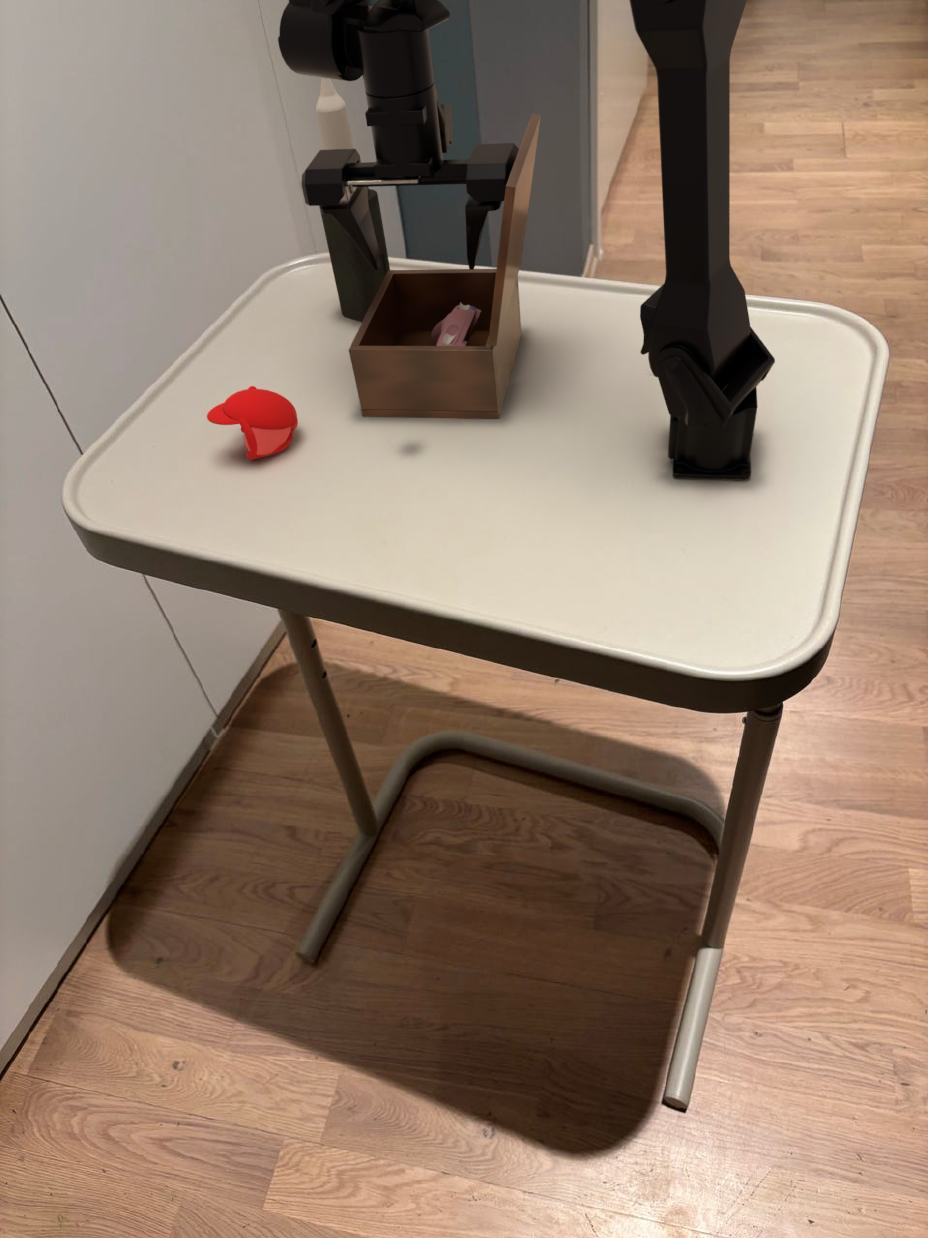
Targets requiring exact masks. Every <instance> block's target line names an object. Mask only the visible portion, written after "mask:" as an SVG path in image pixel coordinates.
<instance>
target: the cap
mask: <svg viewBox="0 0 928 1238" xmlns="http://www.w3.org/2000/svg"><path fill="white" fill-rule="evenodd" d="M206 419H207V421H209V422H210V423H212V424H215V425H219V426H234V425H240V432H242V433H243V434H244V437H245V438H244V441H245V446H246V449H247V451H246V458H247V459H249V460H257V459H261V458H264V457H267V456H271V455H275V454H278V453H280V452H282V451H284V450H285V449H286V448H287V447H288V446H289V445H290V443H291V442H292V440H293V437H294V436H293V435H294V431H295V430H296V429H297V427H298V425H299V421H298V413H297V410H296V408H295V405H293V403H292V402H291V401H290V400H289V399H287V398H286V397H285V396H284V395H281V394H280V393H278V392H275V391H273V390H269V389H262V388H257V387H256V386H254V385H251V386H249V387H248V388H247V389H242V390H239V391H236V392H234V393H233V394H231V395H230V396H228V397H227V398H226V400H225V401H224V402H222V403H219V404H218V405H215V406H214V407H212V408H211V409H210V410H209V411H208V412H207V414H206Z"/></svg>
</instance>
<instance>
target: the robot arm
mask: <svg viewBox="0 0 928 1238" xmlns="http://www.w3.org/2000/svg"><path fill="white" fill-rule="evenodd" d="M747 2H748V0H629V5H630V10H631V15H632V20H633V27H634V30H635V32H636V34H637V36H638V38H639V40H640V42H641V43H642V46H643V48H644V50H645V51H646V53H647V55H648V58H649V59H650V61H651V63H652V64H653V66H654V69H655V74H656V84H657V85H656V86H657V87H656V88H657V106H658V129H659V150H660V170H661V171H660V173H661V174H660V175H661V190H662V191H661V192H662V193H661V194H662V197H661V198H662V215H663V238H664V258H665V259H664V260H665V261H664V262H665V279H664V283H662V285H661V286H659V288H658V289H656V290H655V291H654V293H652V294H651V295H650V296H648V297H647V299H646V300H645V301H644V302H643V303H641V304H640V307H639V309H640V310H639V313H640V314H639V318H640V324H641V328H642V333H643V343H642V346H641V349H640V354H641V355H643V356H644V355H646V354H648V355H647V356H648V357H647V358H648V359H647V361H648V365H649V368H650V371H651V373H652V375H653V376H654V377H655V378H657V379H658V382H659V385H660V388H661V392H662V395H663V398H664V402H665V405H666V410H667V412H668V414H669V415H670V417H669V430H668V431H669V432H668V446H667V458H668V459H669V460H672V473H671V474H672V476H673V477H674V478H676V479H699V480H700V479H702V480H704V479H705V480H734V481H735V480H737V481H738V480H739V481H746V480H748V481H749V480H750V479H751V478H752V456H751V455H752V454H751V453H752V447H753V440H754V434H755V426H756V419H757V414H758V413H757V411H758V393H757V392H758V391H757V389H758V388H757V387H758V386H759V384H760V383H761V382H763V381H764V380H765V379H766V378H767V377H768V374H769V372H770V371H771V369H772V368H773V366H774V364H775V363H776V359H775V357H774V356H773V354H772V353H771V352H770V350H769V349H768V348H767V346H766V345H765V344H764V342H763V341H762V339H761V338H760V336H758V334H757V333H756V332H755V330H754V328H752V326H751V321H750V316H749V308H748V303H747V297H746V290H745V287H744V286H743V285H742V283H741V281H740V279H739V277H738V276H737V274H736V272H735V271H734V269H733V267H732V265H731V259H730V257H731V256H730V235H731V234H730V228H731V227H730V216H731V215H730V208H731V207H730V205H731V204H730V201H731V199H730V193H731V192H730V188H731V187H730V186H731V185H730V183H731V182H730V178H731V177H730V176H731V175H730V173H731V172H730V167H731V166H730V162H731V159H730V157H731V156H730V153H731V151H730V148H731V147H730V146H731V145H730V144H731V143H730V141H731V140H730V139H731V138H730V135H731V134H730V133H731V131H730V130H731V129H730V127H731V123H730V120H731V119H730V118H731V117H730V114H731V113H730V112H731V111H730V107H731V106H730V100H731V99H730V98H731V97H730V95H731V94H730V93H731V91H730V90H731V89H730V87H731V86H730V85H731V84H730V83H731V80H730V79H731V78H730V77H731V75H730V73H731V72H730V71H731V68H730V67H731V66H730V64H731V63H730V62H731V55H732V54H731V53H732V48H733V45H734V42H735V39H736V36H737V33H738V30H739V26H740V23H741V21H742V17H743V15H744V10H745V9H746V4H747ZM450 17H451V12H450V10H449V9H448V8H447V7H446V6H445V4H443V2H442V1H440V0H377V1H376V2H375V3H374V4H373V5H370V4H369V0H288V3H287V4H286V6H285V8H284V9H283V12H282V14H281V18H280V22H279V35H278V37H277V43H278V48H279V51H280V54H281V57H282V59H283V61H284V63H285V65H286V66H287V67H288V68H289V69H290V70H291V71H293V72H294V73H295V74H297V75H302V76H309V77H315V78H321V77H322V78H329V79H330V80H338V81H345V82H355V81H357V80H359V79H360V78H362V80H363V85H364V91H365V97H366V103H367V109H366V111H365V113H364V115H365V119H366V120H365V121H366V126H367V127H370V131H371V135H372V141H373V148H374V153H375V160H376V161H370V162H369V161H367V162H366V161H365V162H362V160H361V155H360V153H359V151H358V150H357V149H356V148H353V149H332V150H324V149H319V150H318V152H317V153H316V154H315V156H314V158H312V160H311V162H310V163H309V164H308V166H306V168H305V170H304V172H302V174H301V181H300V182H301V184H300V185H301V189H302V194H303V199H304V202H305V204H306V205H307V206H309V207H317V206H318V207H319V206H321V211H322V213H323V214H329V215H332V216H333V217H334V219H335V220H336V221H337V222H338V223H339V224H340V225H341V227H342V228H343V229H344V230H345V231H346V232H347V233H348V235H349V236H350V237H351V238H352V240H353V241H354V242H355V244H356V245H357V247H358V248H359V249H360V251H361V252H362V254H363V255H364V257H365V258H366V259H367V261H368V262H369V264H370V265H371V267H372V268H373V270H375V271H378V270H379V268H380V256H379V249H378V244H377V240H376V236H375V232H374V228H373V223H372V219H371V215H370V211H369V206H368V188H367V187H371V188H372V187H374V188H375V187H406V186H409V187H411V186H437V185H438V186H440V185H445V186H446V185H465V186H466V194H467V195H469V196H468V198H467V201H466V203H465V206H464V211H465V213H464V214H465V241H466V260H467V265H468V269H470V270H473V269H475V268H476V267H475V266H476V264H477V263H476V262H477V260H478V255H479V250H480V246H481V243H482V237H483V232H484V229H485V228H484V227H485V223H486V219H487V217H488V214H489V212H495V211H498V210H499V209H500V208H501V206H502V203H503V202H504V198H505V189H506V184H507V182H508V179H509V176H510V173H511V171H512V168H513V165H514V162H515V159H516V157H517V154H518V151H519V147H518V146H517V145H516V144H515V143H514V142H502V143H499V142H498V143H476V144H475V145H474V146H473V149H472V152H471V153H470V156H469V158H460V159H457V158H456V159H444V157H443V154H448V152H449V151H450V148H451V147H450V145H453V144H454V138H453V137H454V136H453V135H454V134H453V133H454V132H453V109H452V107H453V105H451V104H445V103H441V102H440V96H439V91H438V86H437V85H436V84H435V77H434V69H433V61H432V60H433V59H432V51H431V50H432V49H431V42H430V33H429V30H430V29H432V28H435V27H436V26H438V25H440V24H442V23H444V22H447V20H449V19H450Z"/></svg>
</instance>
